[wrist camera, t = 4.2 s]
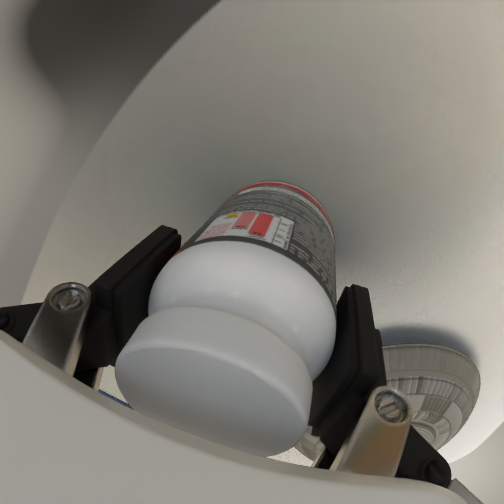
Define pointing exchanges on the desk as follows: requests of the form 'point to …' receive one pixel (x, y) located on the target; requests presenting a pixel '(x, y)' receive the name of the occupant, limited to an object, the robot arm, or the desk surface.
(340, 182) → the desk surface
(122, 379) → the pill bottle
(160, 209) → the desk surface
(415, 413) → the flying saucer
